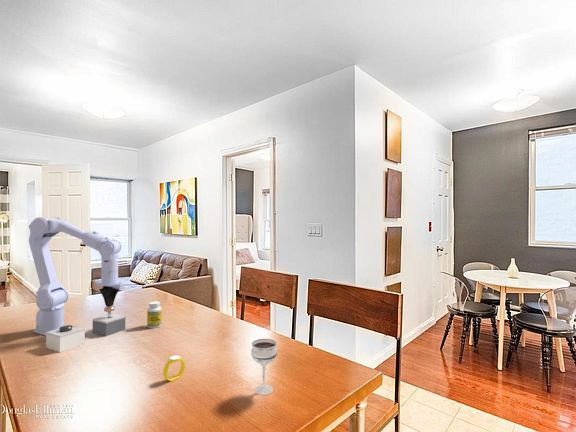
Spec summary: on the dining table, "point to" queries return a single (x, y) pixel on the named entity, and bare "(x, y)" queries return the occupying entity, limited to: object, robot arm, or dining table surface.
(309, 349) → the dining table surface
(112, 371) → the dining table surface
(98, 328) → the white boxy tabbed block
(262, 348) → the wineglass
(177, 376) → the gold diamond ring
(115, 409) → the dining table surface
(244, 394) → the dining table surface
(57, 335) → the press white
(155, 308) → the supplement bottle
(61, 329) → the doorknob dark gray
